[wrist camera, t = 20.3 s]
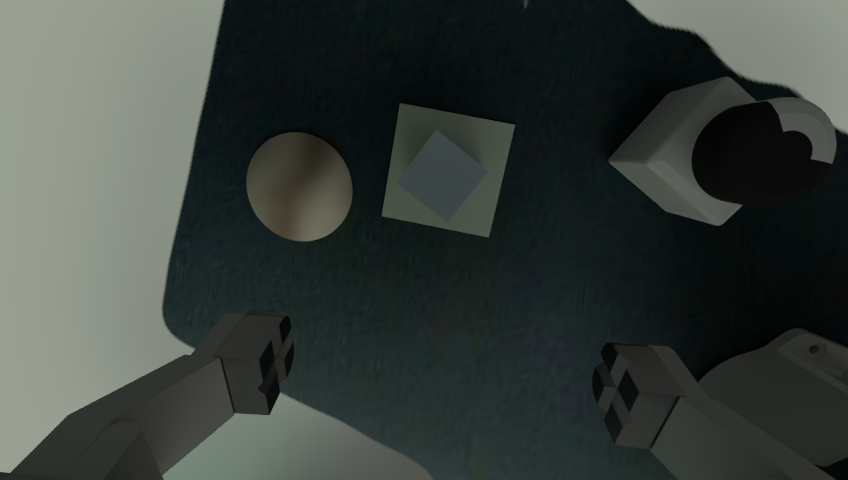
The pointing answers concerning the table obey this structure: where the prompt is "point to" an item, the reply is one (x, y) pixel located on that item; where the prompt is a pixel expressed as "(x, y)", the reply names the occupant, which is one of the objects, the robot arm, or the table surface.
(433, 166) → the grey block
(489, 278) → the table surface
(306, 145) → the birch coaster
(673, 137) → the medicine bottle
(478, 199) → the sage mat
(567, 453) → the table surface
